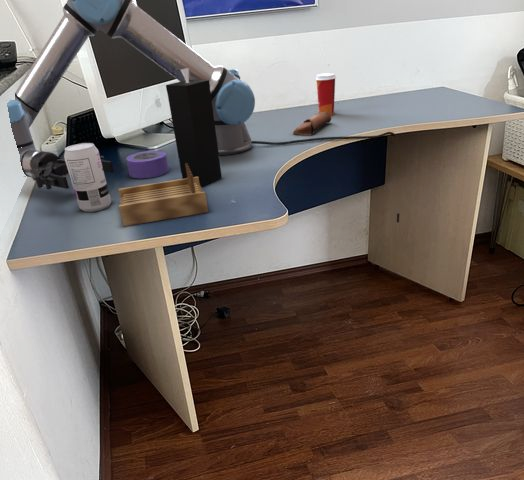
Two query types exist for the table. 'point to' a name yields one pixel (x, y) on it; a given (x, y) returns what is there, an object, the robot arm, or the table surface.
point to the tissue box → (194, 128)
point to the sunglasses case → (313, 124)
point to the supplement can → (87, 177)
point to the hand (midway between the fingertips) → (89, 174)
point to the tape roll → (147, 164)
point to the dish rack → (162, 200)
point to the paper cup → (326, 92)
